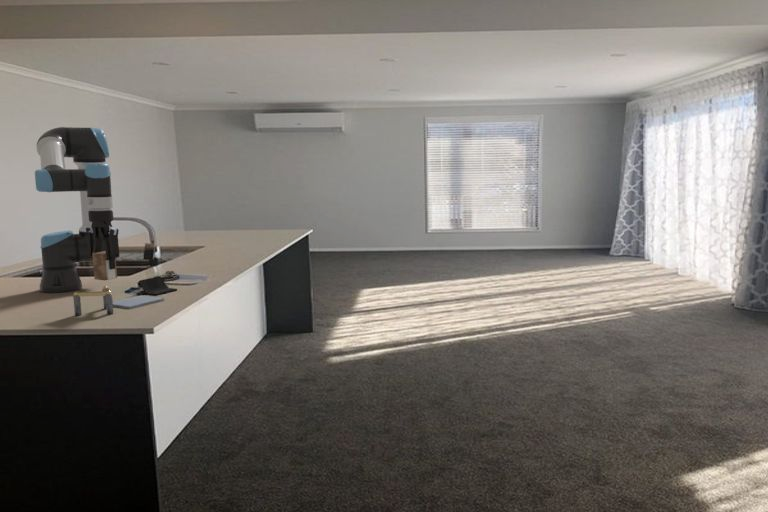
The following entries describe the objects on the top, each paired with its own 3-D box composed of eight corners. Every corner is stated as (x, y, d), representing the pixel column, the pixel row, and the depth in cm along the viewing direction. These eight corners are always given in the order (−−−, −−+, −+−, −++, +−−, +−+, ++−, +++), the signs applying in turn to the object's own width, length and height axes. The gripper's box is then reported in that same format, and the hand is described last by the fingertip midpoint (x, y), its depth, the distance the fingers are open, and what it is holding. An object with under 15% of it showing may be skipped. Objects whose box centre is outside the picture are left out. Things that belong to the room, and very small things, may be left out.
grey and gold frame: (73, 315, 197) (71, 292, 196) (107, 307, 208) (105, 285, 207) (93, 318, 192) (91, 294, 191) (127, 310, 204) (125, 287, 202)
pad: (106, 305, 211) (106, 303, 211) (141, 297, 224) (141, 295, 224) (130, 308, 206) (129, 306, 206) (164, 300, 219) (163, 298, 219)
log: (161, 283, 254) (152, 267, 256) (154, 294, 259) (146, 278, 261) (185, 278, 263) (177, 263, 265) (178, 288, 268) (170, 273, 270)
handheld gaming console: (160, 292, 227) (148, 270, 228) (148, 302, 228) (135, 281, 230) (179, 290, 238) (167, 270, 239) (167, 300, 239) (155, 280, 241)
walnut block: (94, 279, 202) (92, 253, 200) (107, 276, 206) (105, 251, 205) (104, 280, 199) (102, 254, 198) (117, 278, 204) (115, 252, 202)
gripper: (72, 209, 200) (78, 277, 203) (108, 211, 192) (114, 282, 195) (92, 208, 207) (97, 273, 210) (128, 209, 198) (133, 278, 202)
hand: (105, 277), depth 203 cm, fingers closed on walnut block, 5 cm apart
